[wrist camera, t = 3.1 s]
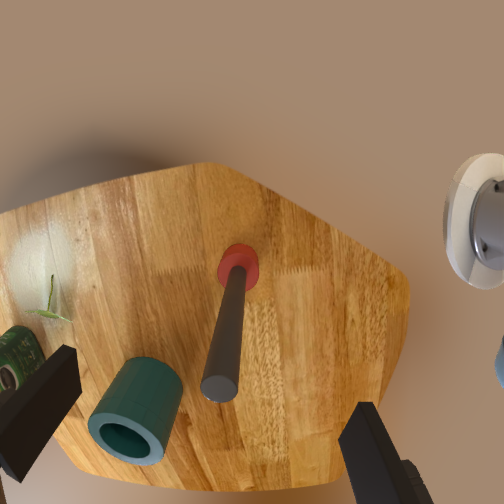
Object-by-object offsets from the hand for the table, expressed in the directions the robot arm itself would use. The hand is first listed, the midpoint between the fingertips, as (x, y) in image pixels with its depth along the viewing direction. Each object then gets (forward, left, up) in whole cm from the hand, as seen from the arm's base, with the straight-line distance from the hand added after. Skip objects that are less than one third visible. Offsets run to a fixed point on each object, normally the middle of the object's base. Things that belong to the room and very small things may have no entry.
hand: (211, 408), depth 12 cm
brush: (0, 0, -25) cm, 25 cm away
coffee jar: (+35, +24, -26) cm, 49 cm away
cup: (+10, +22, -25) cm, 35 cm away
